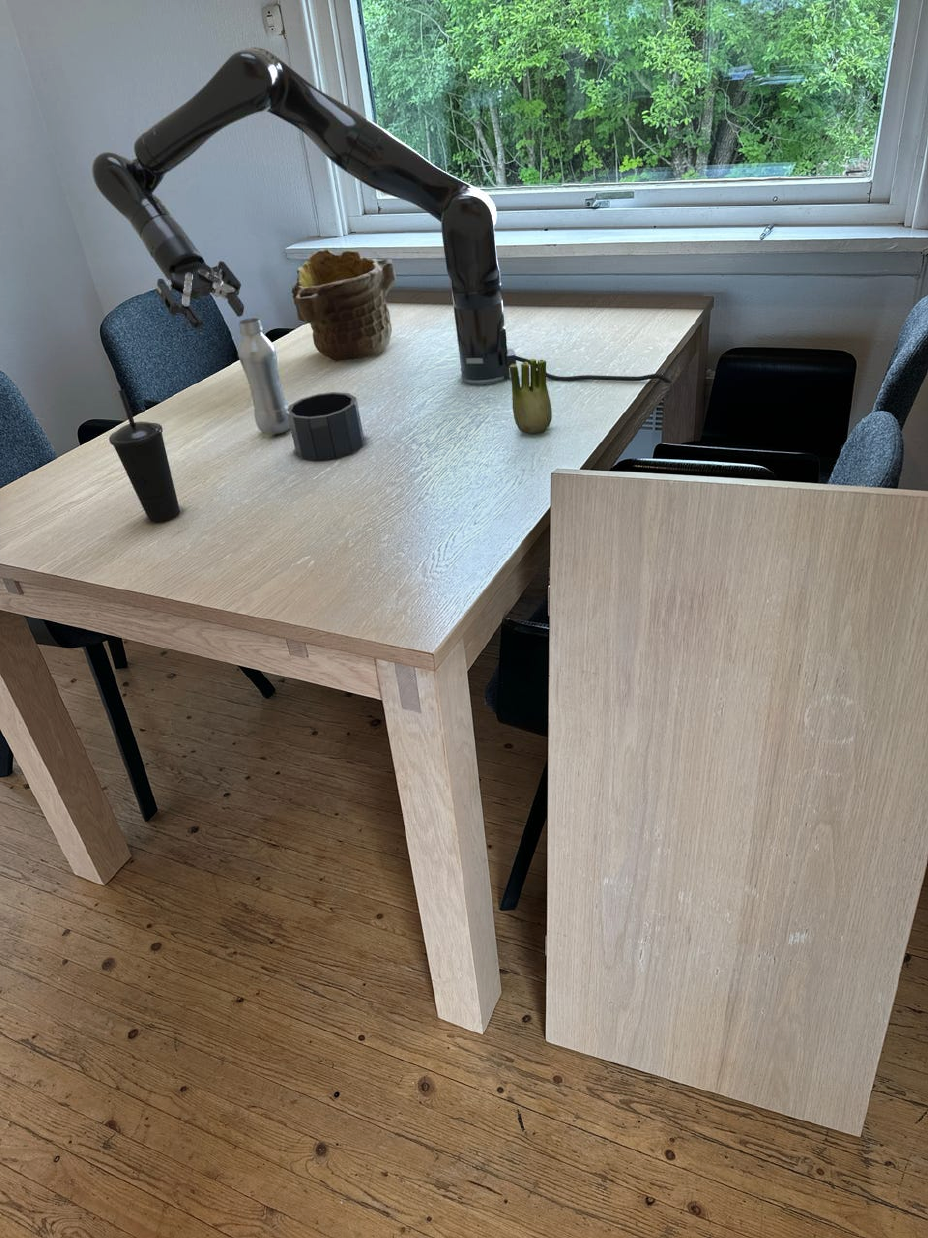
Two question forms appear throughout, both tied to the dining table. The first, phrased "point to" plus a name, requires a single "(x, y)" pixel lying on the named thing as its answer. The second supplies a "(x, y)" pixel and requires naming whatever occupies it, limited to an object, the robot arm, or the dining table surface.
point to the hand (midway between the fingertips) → (221, 319)
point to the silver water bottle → (263, 377)
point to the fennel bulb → (531, 397)
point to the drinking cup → (147, 466)
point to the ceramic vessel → (345, 303)
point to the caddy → (325, 426)
